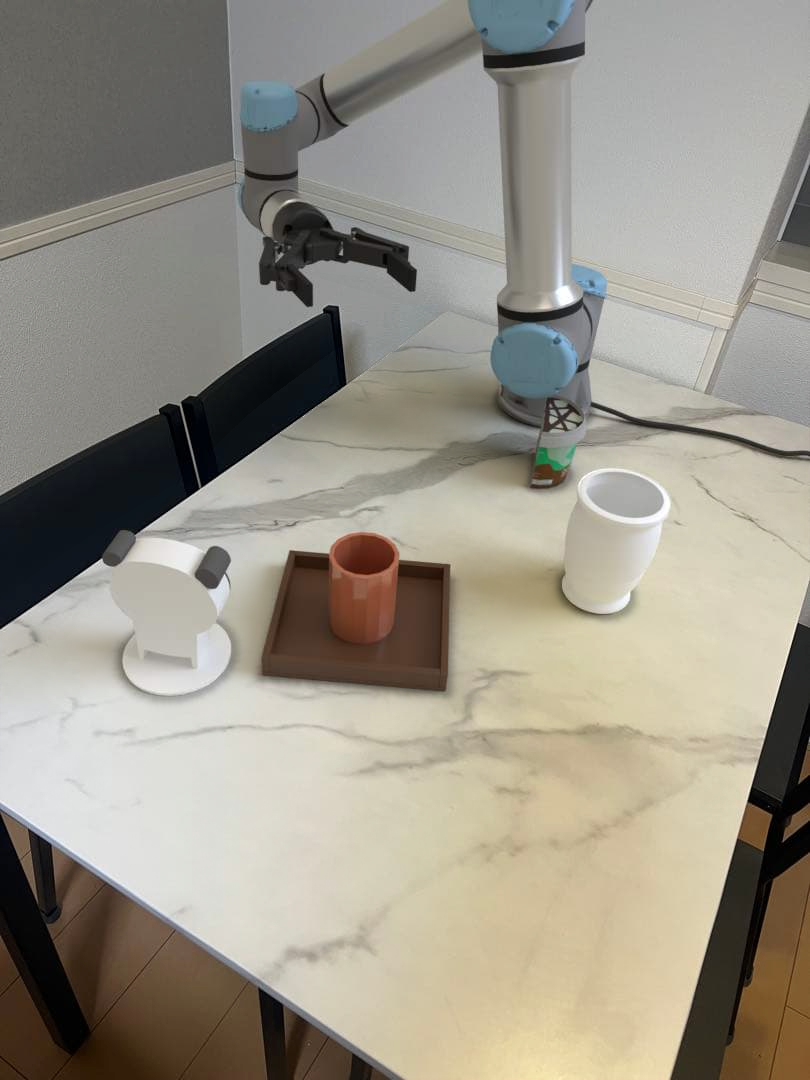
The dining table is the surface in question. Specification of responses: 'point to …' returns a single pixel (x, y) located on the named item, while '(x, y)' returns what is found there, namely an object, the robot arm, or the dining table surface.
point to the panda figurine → (170, 611)
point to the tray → (318, 653)
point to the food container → (557, 441)
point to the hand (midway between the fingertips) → (363, 288)
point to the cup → (362, 587)
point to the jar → (612, 537)
